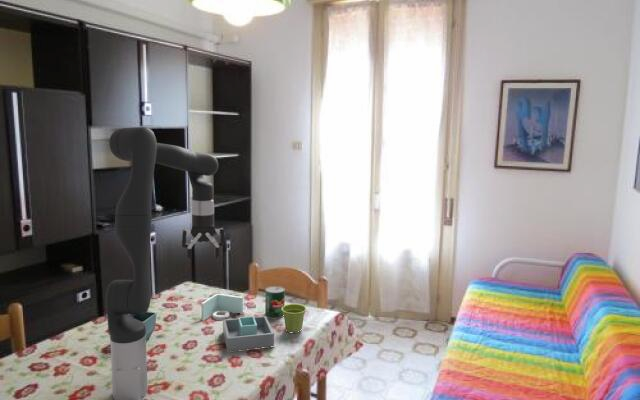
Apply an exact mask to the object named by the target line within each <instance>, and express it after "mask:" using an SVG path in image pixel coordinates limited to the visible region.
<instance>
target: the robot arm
mask: <svg viewBox="0 0 640 400" xmlns="http://www.w3.org/2000/svg"><path fill="white" fill-rule="evenodd" d="M108 143H109V149H110V152H111V154H112V155H113V156H114V157H116V159H119V160H120V161H121V160H122V161H124V162H131V168H130V170H131V171H130V177H129V180H128V184H127V185H126V187H125V189H124V191H123V193H122V194H121V197H120V198H119V200H118V202H117V204H116V208H115V216H114V217H115V218H114V219H115V220H114V232H115V233H114V234H115V236H116V238H117V241H118V242H119V243H120V245H121V246H122V248H123V250H124V251H125V253H126V255H127V257H128V259H129V260H130V262H131V265H132V269H133V278H134V279H114V280H112V281H110V283H109V284H108V286H107V289H106V292H105V310H106V318H107V319H106V320H107V330H108V332H109V338H110V339H109V340H110V362H111V363H110V365H111V366H110V367H111V385H112V390H111V391H112V399H113V400H142V398H144V397H145V396H146V395H147V393H148V390H149V389H148V388H149V387H148V360H147V359H148V358H147V357H148V356H147V340H146V327H145V324H144V323H143V322H141V321H139V320H137V319H135V318H133V317H131V316H130V315H129V314H144V313H146V312H148V310H149V309H150V305H151V301H152V299H151V298H152V281H151V259H150V257H151V256H150V255H151V252H150V251H151V235H152V233H151V232H152V201H153V183H154V174H155V167H156V166H155V165H156V164H157V165H161V166H165V167H169V168H172V169H175V170H179V171H180V170H181V171H182V172H183V171H184V172H187V174H188V179H189V182H190V185H191V190H192V191H191V193H192V195H191V196H192V197H191V201H192V203H191V229H186V228H183V229H182V236H181V237H182V239H181V246H182V248H185V249H187V258H188V259H189V260H193V251H192V249H193V246H194V245H195V244H196V243H197V242H198V243H203V242H205V243H206V242H207V243H208V242H211V243H212V244H213V245H214V259H218V257H219V256H220V247H222V246H225V234H224V233H225V231H224V228H223V227H220V228H215V203H214V186H213V184H212V183H211V182H208V181H207V180H205V177H206V176H207V177H208V176H214V175H215V174H216V173H217V172H218V169H219V161H218V159H217V158H216V157H215V156H214V155H212V154H209V153H205V152H204V153H203V152H197V151H194V150H191V149H188V148H185V147H183V146H179V145H173V144H167V143H160V142H158V141H157V138H156V136H155V133H154V131H153V130H152V129H151V128H149V127H147V126H146V127H145V126H137V127H123V128H119V129H117V130H115V131H114V132H113V133H112V134H111V135H110V136H109V141H108ZM204 176H205V177H204ZM216 234H217V235H218V236H219V242H218V241H217V240H216V239H215V237H214V236H215V235H216ZM189 235H192V238H191V239H190V241H189V243H187V237H188V236H189Z"/></svg>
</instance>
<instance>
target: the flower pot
mask: <svg viewBox="0 0 640 400" xmlns="http://www.w3.org/2000/svg"><path fill="white" fill-rule="evenodd" d="M129 315H130V316H131V317H133V318H135V319H137V320H139V321H141V322H143V323H144V324H145V327H146V341H147V340H148V339H150V338H151V336H152V335H153V333H154V331H155V328H156V322H157V312H153V311H147V312H146V313H144V314H129Z"/></svg>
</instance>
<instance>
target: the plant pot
mask: <svg viewBox="0 0 640 400" xmlns="http://www.w3.org/2000/svg"><path fill="white" fill-rule="evenodd" d="M282 311H283V314H284V316H283V317H284V318H283V319H284V327H285V331H286V330H287V331H289V332H294V333H297V332H298V331H300V330H301V329H302V330H303V325H304V324H303V322H304V316H305V314H306V313H305V312H306V311H307V307H306V306H305V305H303V304H300V303H289V304H284V306H283V307H282ZM302 330H301V331H302ZM287 331H286V332H287ZM301 331H300V332H301ZM289 332H288V333H289ZM298 333H299V332H298Z"/></svg>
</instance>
